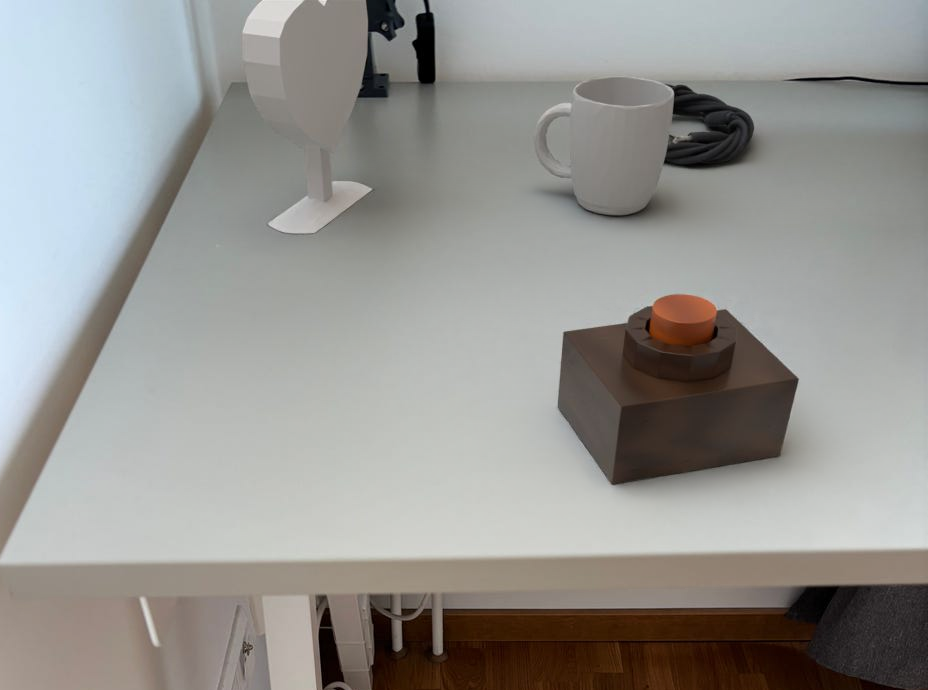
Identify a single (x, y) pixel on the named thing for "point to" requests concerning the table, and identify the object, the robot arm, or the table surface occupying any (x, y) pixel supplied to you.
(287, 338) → the table surface
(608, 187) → the mug
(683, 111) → the cable
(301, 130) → the heart sculpture
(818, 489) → the table surface
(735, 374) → the control block
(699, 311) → the button
